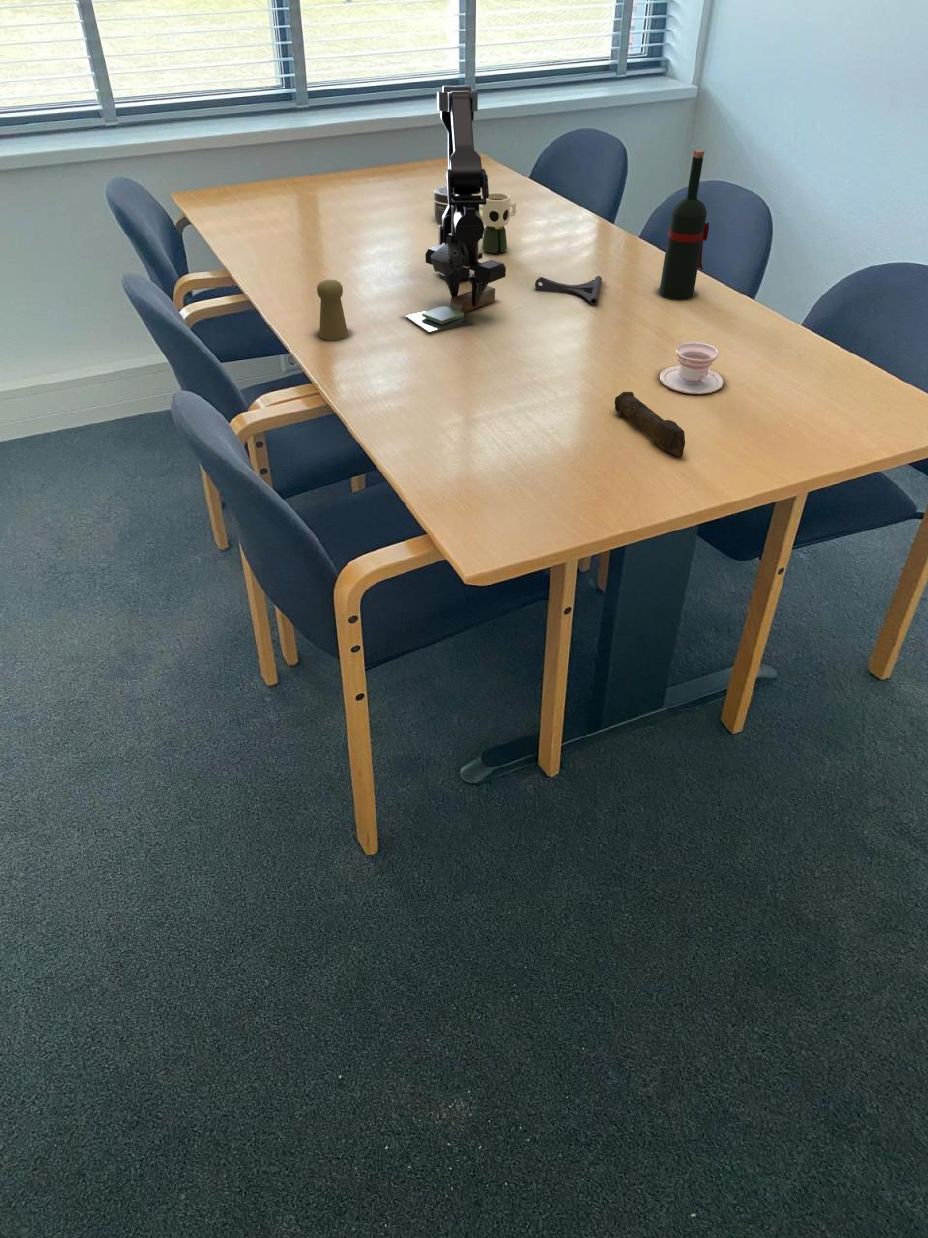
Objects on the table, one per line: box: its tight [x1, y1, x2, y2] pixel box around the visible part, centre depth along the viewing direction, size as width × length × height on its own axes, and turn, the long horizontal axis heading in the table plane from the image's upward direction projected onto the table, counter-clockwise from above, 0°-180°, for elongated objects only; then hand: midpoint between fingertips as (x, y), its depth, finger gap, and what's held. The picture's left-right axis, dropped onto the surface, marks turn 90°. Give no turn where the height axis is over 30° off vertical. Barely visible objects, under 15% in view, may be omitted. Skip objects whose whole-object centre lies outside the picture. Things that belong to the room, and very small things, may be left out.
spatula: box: [422, 285, 496, 324], centre depth 200 cm, size 19×6×3 cm, turn 137°
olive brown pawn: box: [316, 279, 349, 341], centre depth 187 cm, size 6×6×11 cm
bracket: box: [534, 275, 603, 306], centre depth 210 cm, size 14×15×3 cm
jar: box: [433, 185, 448, 225], centre depth 249 cm, size 10×10×8 cm
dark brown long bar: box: [614, 391, 686, 458], centre depth 158 cm, size 19×4×5 cm, turn 21°
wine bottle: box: [658, 149, 710, 301], centre depth 202 cm, size 8×10×30 cm
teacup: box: [659, 341, 724, 395], centre depth 173 cm, size 12×12×6 cm
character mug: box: [479, 192, 517, 254], centre depth 228 cm, size 11×7×13 cm, turn 111°
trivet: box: [405, 309, 470, 334], centre depth 197 cm, size 10×10×1 cm
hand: (464, 302), depth 200 cm, fingers open, 6 cm apart
